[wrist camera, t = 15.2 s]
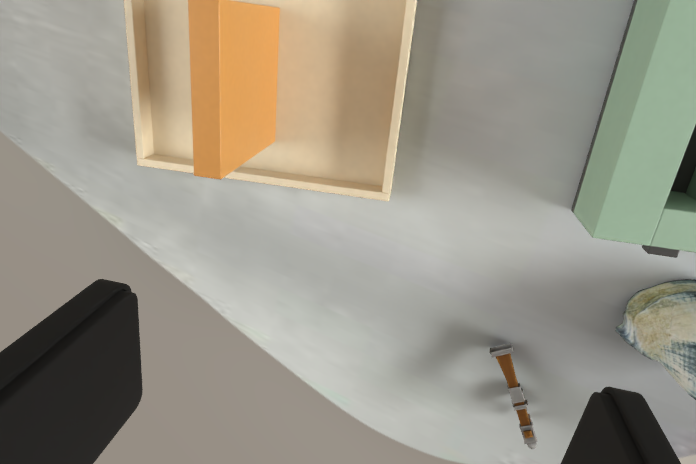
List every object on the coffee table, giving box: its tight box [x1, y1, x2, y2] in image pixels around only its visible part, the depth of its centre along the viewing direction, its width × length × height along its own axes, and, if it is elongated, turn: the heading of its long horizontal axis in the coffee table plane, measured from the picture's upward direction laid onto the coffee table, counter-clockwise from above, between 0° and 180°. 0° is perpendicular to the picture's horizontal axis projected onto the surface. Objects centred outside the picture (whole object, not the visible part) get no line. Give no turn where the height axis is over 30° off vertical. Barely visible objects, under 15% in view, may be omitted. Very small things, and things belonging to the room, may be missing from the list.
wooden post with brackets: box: [490, 343, 537, 449], centre depth 39 cm, size 2×8×4 cm, turn 23°
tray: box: [124, 0, 417, 201], centre depth 33 cm, size 15×19×2 cm
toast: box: [188, 0, 280, 179], centre depth 29 cm, size 9×2×10 cm, turn 175°
